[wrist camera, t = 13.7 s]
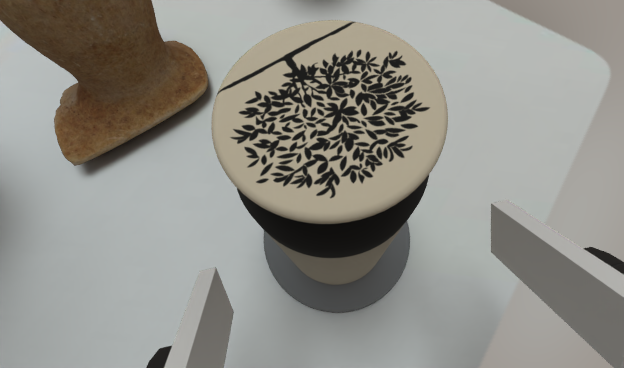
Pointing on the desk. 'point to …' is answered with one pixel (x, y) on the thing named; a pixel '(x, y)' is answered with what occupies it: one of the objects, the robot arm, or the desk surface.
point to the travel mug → (330, 141)
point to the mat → (344, 294)
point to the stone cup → (108, 68)
